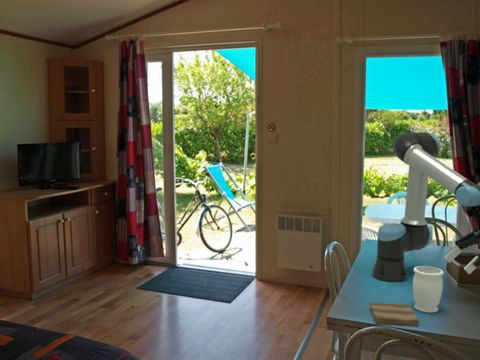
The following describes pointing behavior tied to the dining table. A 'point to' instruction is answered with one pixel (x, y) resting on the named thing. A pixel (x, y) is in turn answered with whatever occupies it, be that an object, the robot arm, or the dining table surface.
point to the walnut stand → (393, 314)
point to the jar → (427, 288)
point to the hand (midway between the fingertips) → (456, 265)
